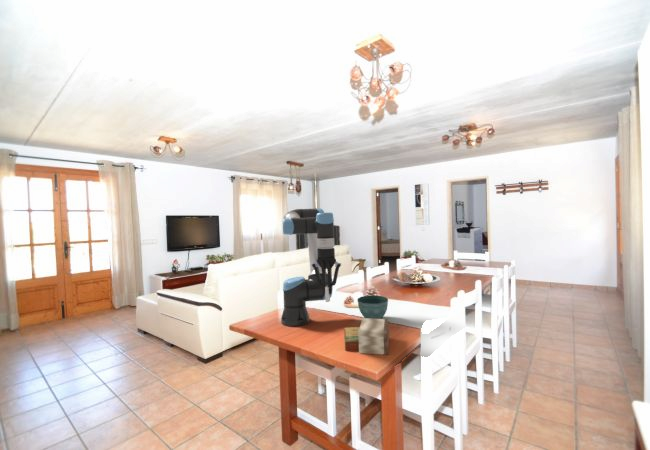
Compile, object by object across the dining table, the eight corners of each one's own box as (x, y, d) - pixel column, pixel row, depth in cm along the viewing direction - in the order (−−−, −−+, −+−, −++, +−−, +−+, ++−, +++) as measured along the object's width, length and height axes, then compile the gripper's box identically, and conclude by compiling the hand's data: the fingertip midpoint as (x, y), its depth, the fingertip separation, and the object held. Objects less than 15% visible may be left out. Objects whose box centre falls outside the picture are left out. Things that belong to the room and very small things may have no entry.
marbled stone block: (359, 352, 121) (358, 332, 121) (363, 336, 138) (362, 318, 138) (388, 354, 119) (387, 333, 119) (388, 337, 135) (388, 319, 135)
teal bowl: (380, 326, 149) (379, 305, 149) (352, 321, 159) (351, 300, 159) (393, 317, 162) (393, 297, 162) (367, 312, 172) (366, 294, 172)
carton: (361, 335, 140) (361, 326, 140) (365, 351, 124) (365, 340, 124) (343, 336, 140) (343, 327, 140) (345, 351, 124) (344, 341, 124)
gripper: (309, 248, 130) (311, 303, 131) (339, 248, 127) (340, 304, 128) (313, 246, 137) (315, 298, 138) (342, 246, 134) (343, 299, 135)
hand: (327, 300), depth 133 cm, fingers closed
